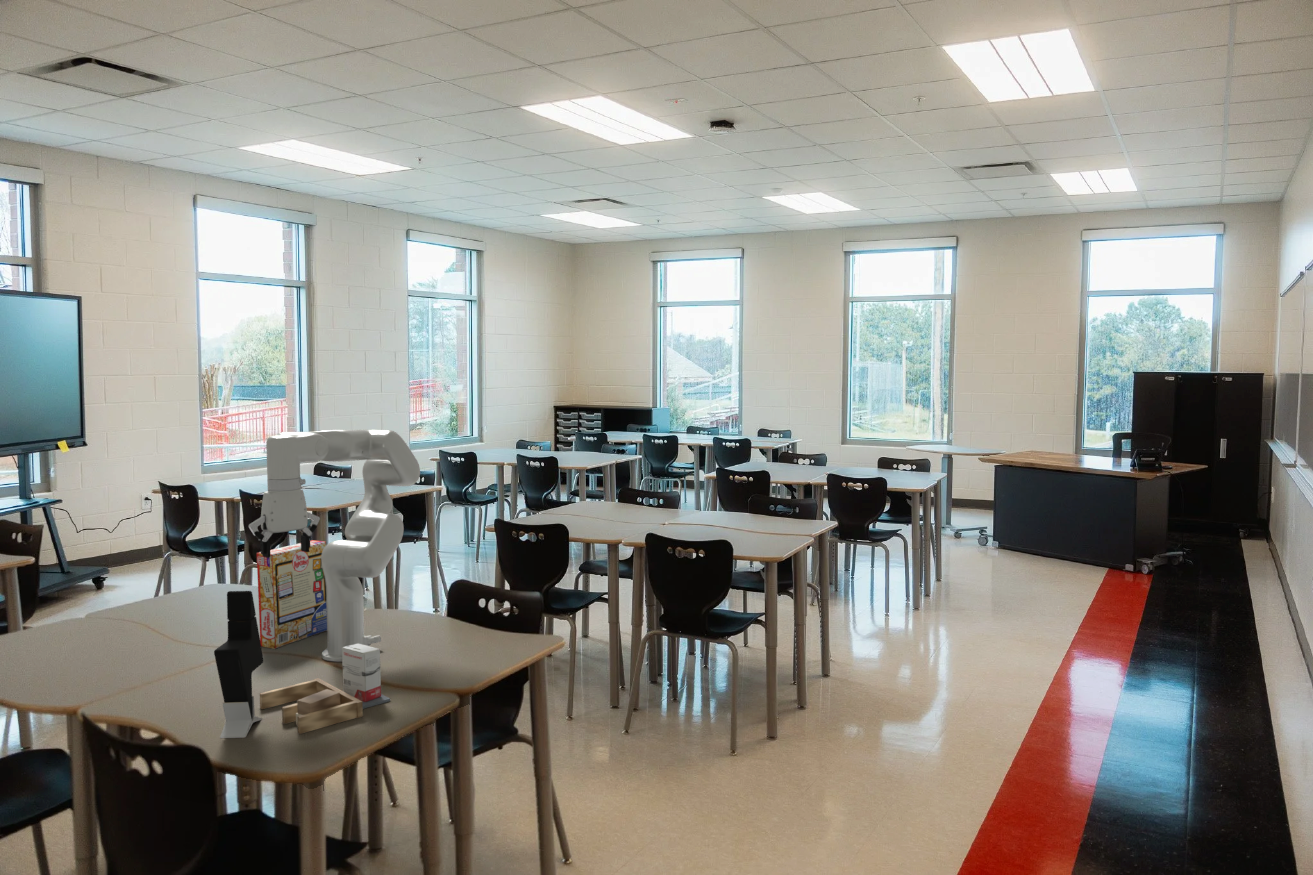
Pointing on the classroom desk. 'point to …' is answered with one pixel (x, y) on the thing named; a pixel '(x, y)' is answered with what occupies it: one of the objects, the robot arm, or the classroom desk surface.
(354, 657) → the ink box
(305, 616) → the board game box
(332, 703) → the offcut
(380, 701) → the mat
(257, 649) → the award
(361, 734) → the classroom desk surface
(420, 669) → the classroom desk surface
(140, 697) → the classroom desk surface
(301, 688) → the rack
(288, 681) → the classroom desk surface
